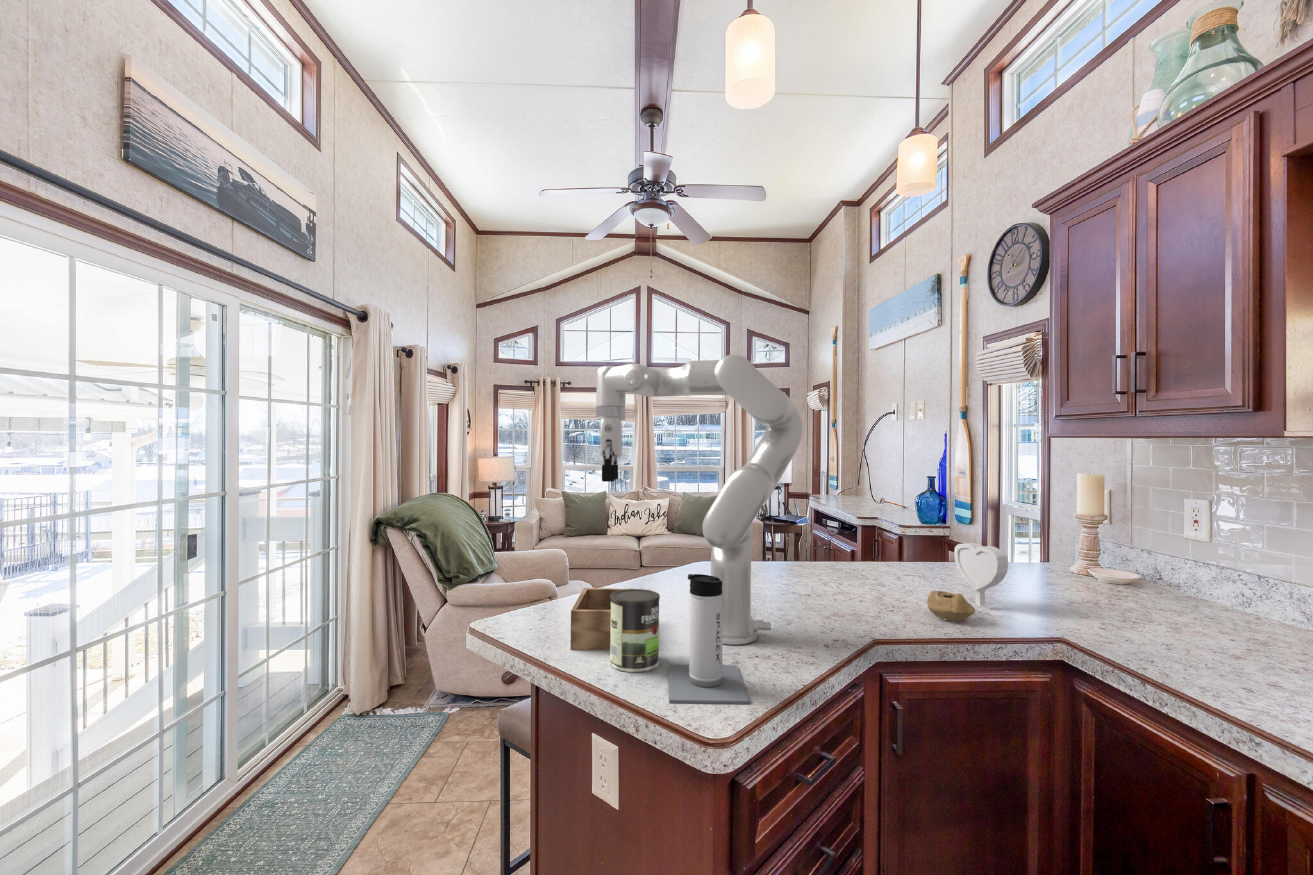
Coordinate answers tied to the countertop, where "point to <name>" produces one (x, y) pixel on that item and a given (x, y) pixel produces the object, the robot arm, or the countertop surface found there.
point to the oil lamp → (949, 606)
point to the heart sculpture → (980, 567)
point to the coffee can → (634, 630)
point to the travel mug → (705, 630)
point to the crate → (592, 620)
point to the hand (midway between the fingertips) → (610, 480)
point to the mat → (690, 693)
